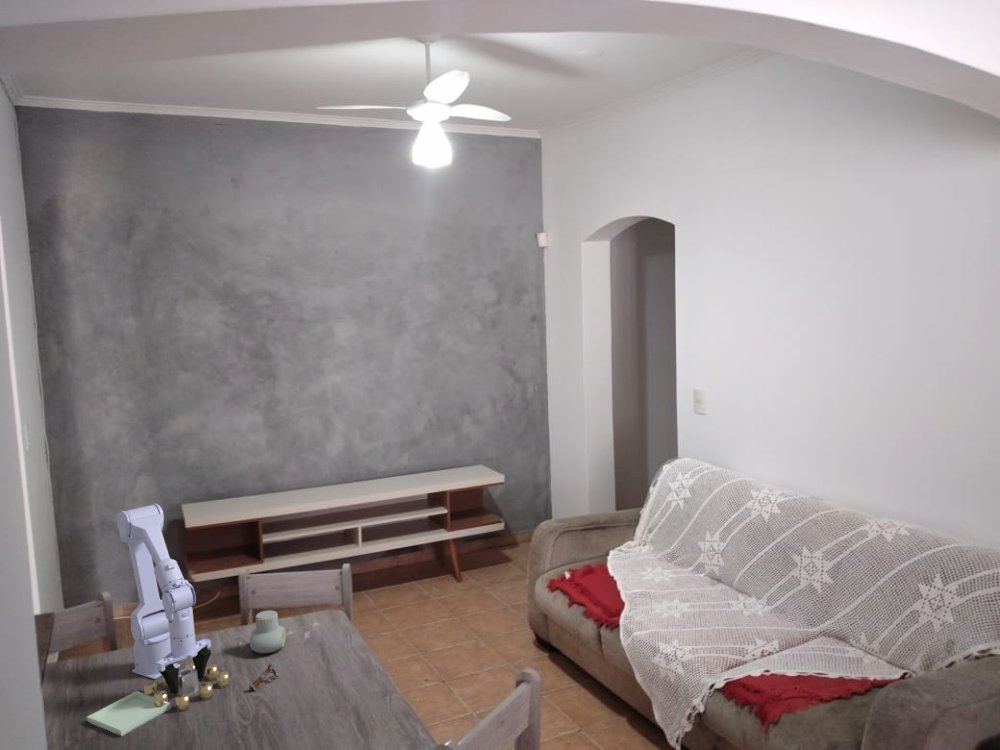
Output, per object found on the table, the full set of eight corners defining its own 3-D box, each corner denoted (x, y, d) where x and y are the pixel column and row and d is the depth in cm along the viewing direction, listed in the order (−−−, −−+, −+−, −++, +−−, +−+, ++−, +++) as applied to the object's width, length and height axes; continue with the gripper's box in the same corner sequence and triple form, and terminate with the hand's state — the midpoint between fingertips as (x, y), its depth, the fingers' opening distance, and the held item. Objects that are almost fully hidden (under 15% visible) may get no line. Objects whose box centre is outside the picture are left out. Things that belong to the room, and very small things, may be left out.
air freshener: (257, 641, 225) (254, 607, 224) (287, 638, 226) (284, 605, 225) (250, 659, 214) (246, 624, 213) (281, 656, 215) (278, 621, 214)
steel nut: (173, 693, 198) (171, 674, 197) (188, 685, 202) (186, 666, 201) (187, 698, 195) (185, 678, 195) (202, 689, 199) (200, 670, 198)
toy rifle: (282, 674, 203) (275, 661, 201) (259, 698, 198) (252, 686, 196) (278, 672, 204) (271, 659, 202) (255, 696, 199) (247, 684, 197)
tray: (87, 722, 186) (86, 716, 186) (137, 696, 197) (136, 691, 197) (121, 736, 179) (120, 730, 179) (171, 708, 190) (170, 702, 190)
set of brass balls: (134, 700, 195) (132, 689, 195) (195, 668, 210) (194, 657, 210) (179, 716, 186) (178, 704, 186) (239, 682, 202) (238, 671, 201)
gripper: (167, 649, 189) (172, 703, 190) (216, 625, 201) (221, 676, 202) (148, 643, 192) (154, 696, 194) (198, 620, 204) (203, 670, 206)
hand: (187, 685), depth 198 cm, fingers open, 7 cm apart
